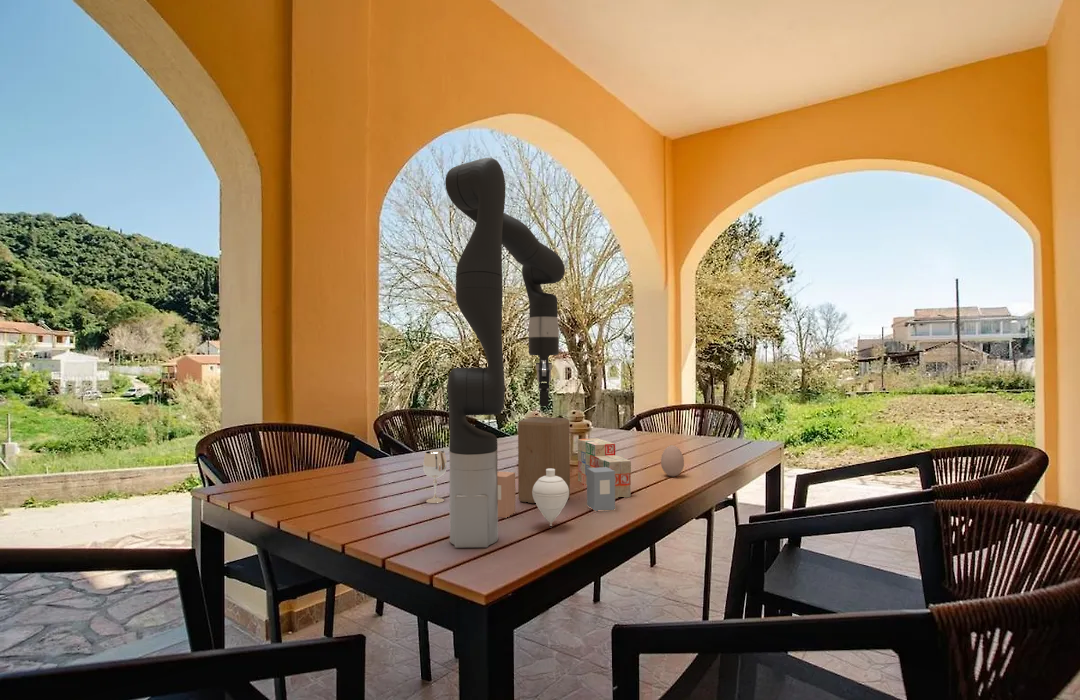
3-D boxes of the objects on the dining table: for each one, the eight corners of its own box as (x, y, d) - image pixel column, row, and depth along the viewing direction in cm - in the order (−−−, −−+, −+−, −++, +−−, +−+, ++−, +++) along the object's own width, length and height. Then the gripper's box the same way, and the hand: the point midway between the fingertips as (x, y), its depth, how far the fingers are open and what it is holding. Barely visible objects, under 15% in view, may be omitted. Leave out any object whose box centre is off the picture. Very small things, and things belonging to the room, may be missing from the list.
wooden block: (516, 502, 135) (516, 420, 135) (536, 493, 143) (535, 416, 144) (553, 507, 130) (552, 422, 130) (571, 497, 139) (570, 417, 139)
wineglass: (419, 503, 134) (419, 453, 135) (429, 497, 140) (429, 449, 140) (441, 504, 133) (441, 454, 133) (450, 498, 139) (450, 450, 139)
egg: (680, 473, 166) (680, 443, 166) (686, 478, 160) (686, 447, 160) (658, 474, 166) (658, 443, 166) (664, 479, 159) (663, 447, 160)
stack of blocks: (631, 497, 139) (631, 448, 139) (608, 499, 137) (608, 449, 137) (597, 480, 159) (597, 437, 160) (577, 481, 158) (577, 438, 158)
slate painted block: (615, 510, 127) (614, 471, 127) (594, 512, 126) (594, 472, 126) (606, 504, 132) (606, 467, 132) (587, 506, 131) (586, 468, 131)
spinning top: (544, 519, 120) (544, 464, 120) (575, 524, 116) (575, 467, 116) (525, 529, 113) (525, 470, 114) (558, 535, 109) (557, 474, 110)
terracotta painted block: (506, 518, 121) (506, 477, 122) (486, 516, 123) (485, 475, 123) (515, 512, 126) (515, 472, 126) (495, 510, 128) (495, 471, 128)
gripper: (559, 334, 131) (560, 408, 130) (557, 337, 144) (558, 403, 144) (528, 334, 131) (528, 408, 130) (528, 337, 144) (529, 404, 144)
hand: (544, 405), depth 137 cm, fingers closed
